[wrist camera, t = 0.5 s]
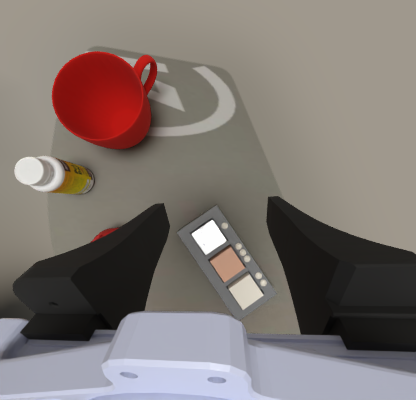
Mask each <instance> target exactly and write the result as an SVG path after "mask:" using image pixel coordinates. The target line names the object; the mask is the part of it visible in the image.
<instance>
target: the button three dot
mask: <svg viewBox="0 0 416 400" xmlns="http://www.w3.org/2000/svg"><path fill="white" fill-rule="evenodd" d="M210 262H211V264H212V265H213V267H214V268H215V270H216V271H217V273H218V274H219V276H220V277H221V278H222V280H223V281H224V283H225V282H226V281H227V280H229V279H230V278H232V277H233V276H235V275H236V274H237V273H239V272H240V271H242V270H243V269H245V267H244V265H243V264H242V262H241V261H240V259H239V258H238V257H237V255H236V254H235V252H234V251H233V249H232V248H231V246H230V245H228V246H227V247H225V248H224V249H222V250H221V251H220V252H218V253H217V254H215V255H214V256H212V257H211V258H210Z"/></svg>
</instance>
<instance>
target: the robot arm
mask: <svg viewBox="0 0 416 400" xmlns="http://www.w3.org/2000/svg"><path fill="white" fill-rule="evenodd" d="M266 222H267V226H268V230H269V234H270V236H271V239H272V241H273V244H274V246H275V249H276V251H277V253H278V256H279V258H280V261H281V263H282V266H283V268H284V272H285V275H286V278H287V282H288V285H289V289H290V293H291V296H292V300H293V304H294V308H295V312H296V315H297V319H298V324H299V328H300V332H301V335H296V334H255V333H246V329H245V328H244V326H243V324H242V322H240V321H239V320H238V319H236V318H234V317H232V316H230V315H228V314H224V313H218V312H196V311H144V310H145V306H146V301H147V297H148V293H149V289H150V285H151V281H152V278H153V274H154V271H155V268H156V265H157V263H158V260H159V258H160V255H161V253H162V250H163V248H164V245H165V243H166V240H167V237H168V233H169V229H170V224H169V221H168V217H167V213H166V210H165V206H164V203H162V204H154V205H153V206H151V207H150V208H148V209H147V210H145V211H144V212H142V213H141V214H140V215H138V216H137V217H135V218H134V219H132V220H131V221H129V222H128V223H126V224H125V225H123V226H122V227H120V228H118V229H117V230H115V231H113V232H111V233H109V234H107V235H106V236H104V237H102V238H99V239H97V240H95V241H93V242H91V243H89V244H86V245H84V246H82V247H79V248H77V249H74V250H71V251H69V252H66V253H63V254H60V255H57V256H54V257H51V258H48V259H45V260H42V261H38V262H36V263H35V264H34V265H33V266H32V267H31V268H29V269H28V270H27V271H26V272H25V273H24V274H22V275H21V276H20V277H19V278H18V279H17V280H16V281H15V282H14V283H13V291H14V293H15V295H16V296H17V297H18V298H19V299H20V300H21V301H22V302H23V303H24V304H25V305H26V306H28V307H29V308H30V309H31V310H32V311H33V312H34V313H36V314H35V315H34V317H33V318H32V319H31V320H30V321H29V320H26V319H21V318H19V319H18V318H2V319H0V400H416V254H414V253H413V252H410V251H407V250H403V249H399V248H394V247H391V246H386V245H383V244H379V243H376V242H372V241H369V240H366V239H363V238H359V237H356V236H354V235H350V234H348V233H346V232H343V231H340V230H338V229H335V228H333V227H331V226H328V225H326V224H324V223H322V222H320V221H318V220H316V219H314V218H312V217H310V216H309V215H307V214H305V213H303V212H302V211H300V210H298V209H297V208H295V207H294V206H292V205H290V204H289V203H288V202H286V201H285V200H283V199H282V198H280V197H278V196H274V197H268V207H267V221H266Z"/></svg>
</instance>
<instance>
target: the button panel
mask: <svg viewBox="0 0 416 400" xmlns="http://www.w3.org/2000/svg"><path fill="white" fill-rule="evenodd" d="M211 219H212V220H213V221H214V223H215V224H216V226H217V227H218V229H219V230H220V231H221V233H222V234H223V236H224V237H225V239H226V240H227V241H225V242H224V243H223V244H221V245H220V246H218V247H217V248H215V249H214V250H212V251H211V252H210V253H208V254H207V255H205V253H204V252H203V251H202V249H201V248H200V246H199V245H198V243H197V242H196V240H195V239H194V237H193V236H192V232H193V231H195V230H196V229H198V228H199V227H201V226H202V225H204V224H205V223H207V222H208V221H209V220H211ZM177 234H178V235H179V237H180V238H181V240H182V241H183V243H184V244H185V246H186V247H187V248H188V250H189V251H190V253H191V254H192V256H193V257H194V259H195V260H196V262H197V263H198V265H199V266H200V268H201V269H202V271H203V272H204V274H205V275H206V276H207V278H208V279H209V281H210V282H211V284H212V285H213V287H214V288H215V290H216V291H217V293H218V294H219V296H220V297H221V299H222V300H223V302H224V303H225V304H226V306H227V307H228V309H229V310H230V312H231V313H232V315H233V316H234V318H236V319H238V320H241V319H242V318H244V317H245V316H246V315H248V314H249V313H251V312H252V311H254V310H255V309H256V308H258V307H259V306H261V305H262V304H263V303H265V302H266V301H268V300H269V299H270V298H272V297H273V296H275V295H276V294H277V293H276V292H275V290H274V289H273V287H272V286H271V284H270V283H269V281H268V280H267V278H266V277H265V275H264V274H263V272H262V271H261V269H260V268H259V267H258V265H257V264H256V262H255V261H254V259H253V258H252V256H251V255H250V253H249V252H248V250H247V249H246V247H245V246H244V244H243V243H242V242H241V240H240V239H239V237H238V236H237V234H236V233H235V231H234V230H233V228H232V227H231V225H230V224H229V222H228V221H227V219H226V218H225V216H224V215H223V214H222V212H221V211H220V209H219V208H218V206H217V205H215V206H214V207H212V208H211V209H209V210H208V211H206V212H205V213H203V214H202V215H200V216H199V217H197V218H196V219H195V220H193V221H192V222H190V223H189V224H187V225H186V226H184V227H183V228H181V229H180V230H178V232H177ZM228 245H230V246H231V248H232V249H233V251H234V252H235V254H236V255H237V257H238V258H239V259H240V261H241V262H242V264H243V265H244V267H245V269H243V270H242V271H240V272H239V273H237V274H236V275H235V276H233V277H232V278H230V279H229V280H227V281H226V282H225V283H224V281H223V280H222V278H221V277H220V276H219V274H218V273H217V271H216V270H215V268H214V267H213V265H212V264H211V262H210V258H211V257H212V256H214V255H215V254H217V253H218V252H220V251H221V250H222V249H224V248H225V247H227V246H228ZM247 271H248V273H249V274H250V276H251V277H252V279H253V280H254V282H255V283H256V284H257V286H258V287H259V289H260V290H261V292H262V293H263V295H264V296H262V297H261V298H259V299H258V300H256V301H255V302H254V303H252V304H251V305H249V306H248V307H247V308H245V309H244V310H243V309H242V308H241V306H240V305H239V304H238V302H237V301H236V299H235V298H234V296H233V295H232V293H231V292H230V290H229V288H228V285H229V284H230V283H232V282H233V281H234V280H236V279H237V278H239V277H240V276H241V275H243V274H244V273H246V272H247Z"/></svg>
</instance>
